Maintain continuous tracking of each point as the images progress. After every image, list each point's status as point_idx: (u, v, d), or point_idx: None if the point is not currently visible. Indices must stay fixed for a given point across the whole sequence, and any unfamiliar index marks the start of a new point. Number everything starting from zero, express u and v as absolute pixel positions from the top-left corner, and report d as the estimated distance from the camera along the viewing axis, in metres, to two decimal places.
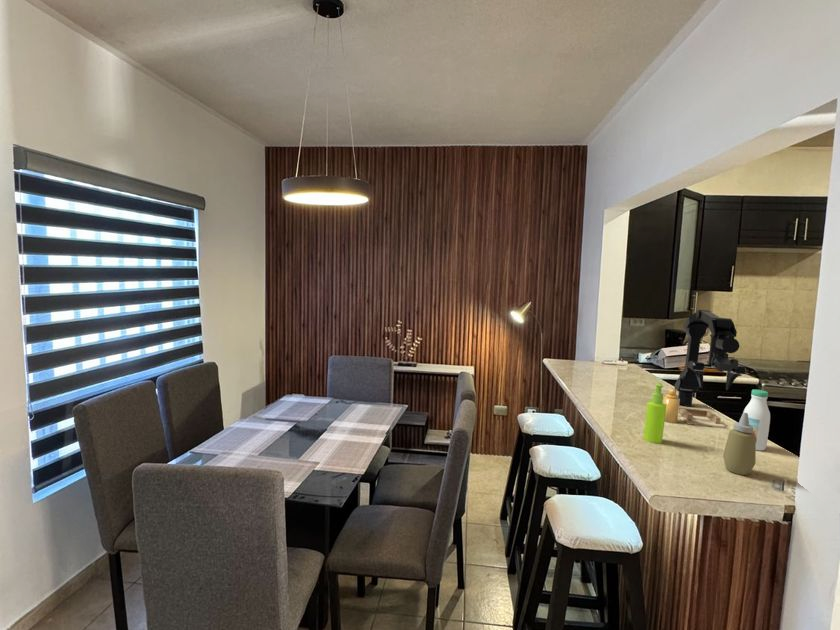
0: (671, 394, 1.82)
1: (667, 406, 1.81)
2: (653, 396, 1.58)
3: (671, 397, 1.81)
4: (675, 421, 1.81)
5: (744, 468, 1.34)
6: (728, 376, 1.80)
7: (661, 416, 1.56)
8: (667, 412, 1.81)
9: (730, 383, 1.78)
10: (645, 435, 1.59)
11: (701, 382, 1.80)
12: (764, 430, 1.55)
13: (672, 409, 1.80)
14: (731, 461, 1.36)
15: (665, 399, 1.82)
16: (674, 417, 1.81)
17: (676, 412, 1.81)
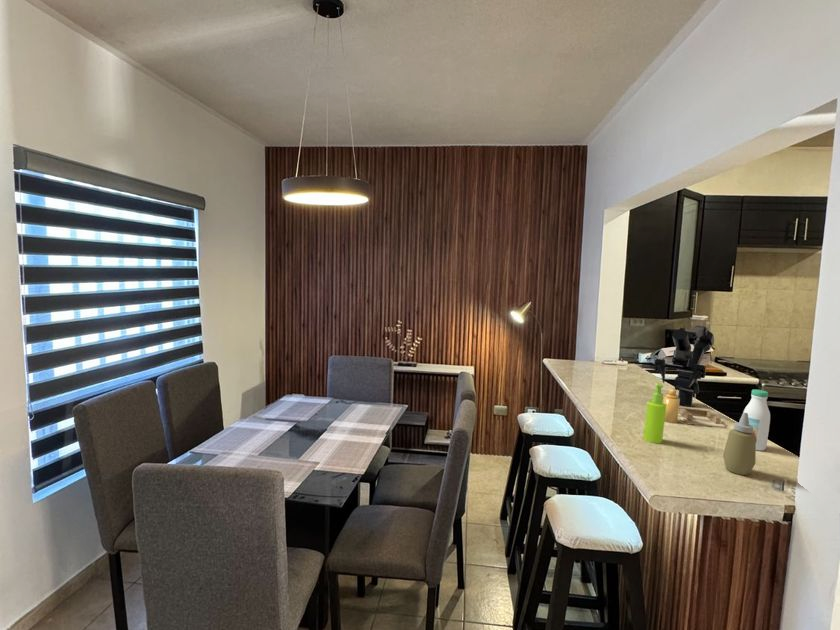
0: (671, 394, 1.82)
1: (667, 406, 1.81)
2: (653, 396, 1.58)
3: (671, 397, 1.81)
4: (675, 421, 1.81)
5: (744, 468, 1.34)
6: None
7: (661, 416, 1.56)
8: (667, 412, 1.81)
9: (691, 379, 1.87)
10: (645, 435, 1.59)
11: (663, 376, 1.92)
12: (764, 430, 1.55)
13: (672, 409, 1.80)
14: (731, 461, 1.36)
15: (665, 399, 1.82)
16: (674, 417, 1.81)
17: (676, 412, 1.81)
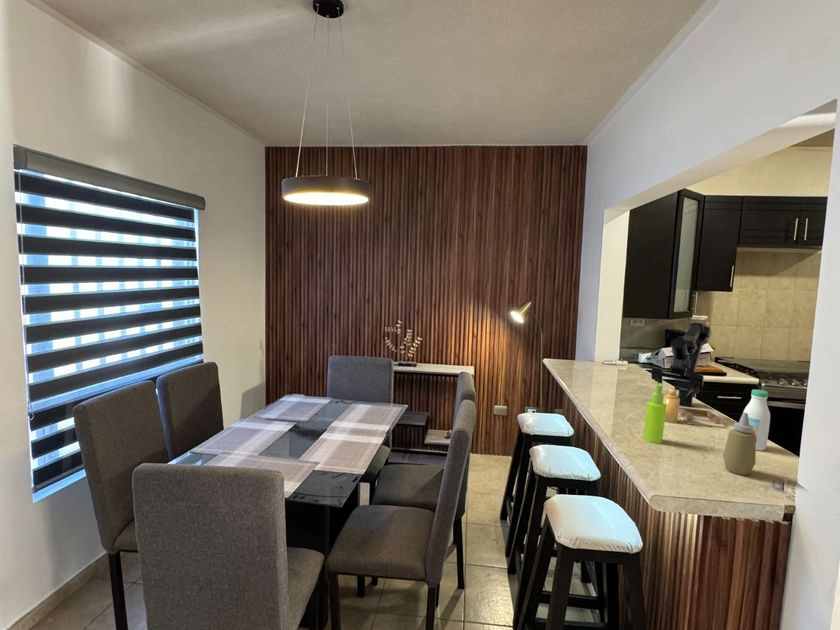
0: (671, 394, 1.82)
1: (667, 406, 1.81)
2: (653, 396, 1.58)
3: (671, 397, 1.81)
4: (675, 421, 1.81)
5: (744, 468, 1.34)
6: None
7: (661, 416, 1.56)
8: (667, 412, 1.81)
9: (688, 388, 1.83)
10: (645, 435, 1.59)
11: None
12: (764, 430, 1.55)
13: (672, 409, 1.80)
14: (731, 461, 1.36)
15: (665, 399, 1.82)
16: (674, 417, 1.81)
17: (676, 412, 1.81)
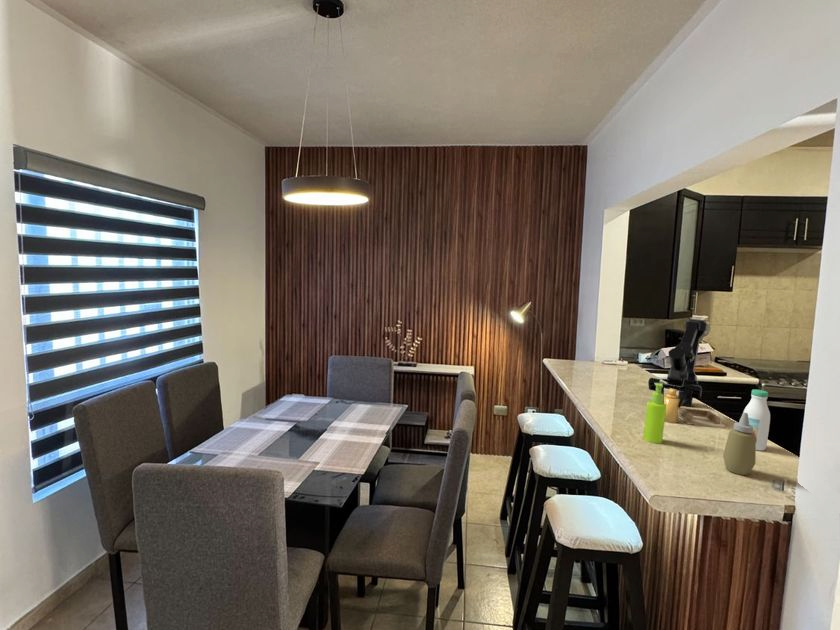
0: (671, 394, 1.82)
1: (667, 406, 1.81)
2: (653, 396, 1.58)
3: (671, 397, 1.81)
4: (675, 421, 1.81)
5: (744, 468, 1.34)
6: None
7: (661, 416, 1.56)
8: (667, 412, 1.81)
9: (681, 399, 1.81)
10: (645, 435, 1.59)
11: None
12: (764, 430, 1.55)
13: (672, 409, 1.80)
14: (731, 461, 1.36)
15: (665, 399, 1.82)
16: (674, 417, 1.81)
17: (676, 412, 1.81)
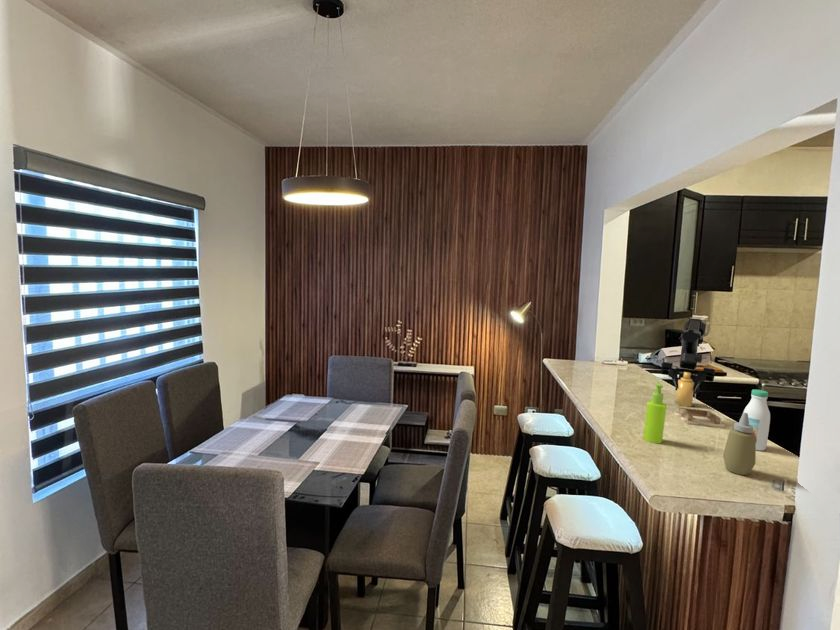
0: (686, 378, 1.81)
1: (682, 390, 1.81)
2: (653, 396, 1.58)
3: (686, 381, 1.81)
4: (690, 404, 1.81)
5: (744, 468, 1.34)
6: None
7: (661, 416, 1.56)
8: (682, 396, 1.81)
9: (696, 382, 1.81)
10: (645, 435, 1.59)
11: (676, 381, 1.84)
12: (764, 430, 1.55)
13: (688, 392, 1.80)
14: (731, 461, 1.36)
15: (680, 383, 1.82)
16: (689, 400, 1.81)
17: (691, 395, 1.80)
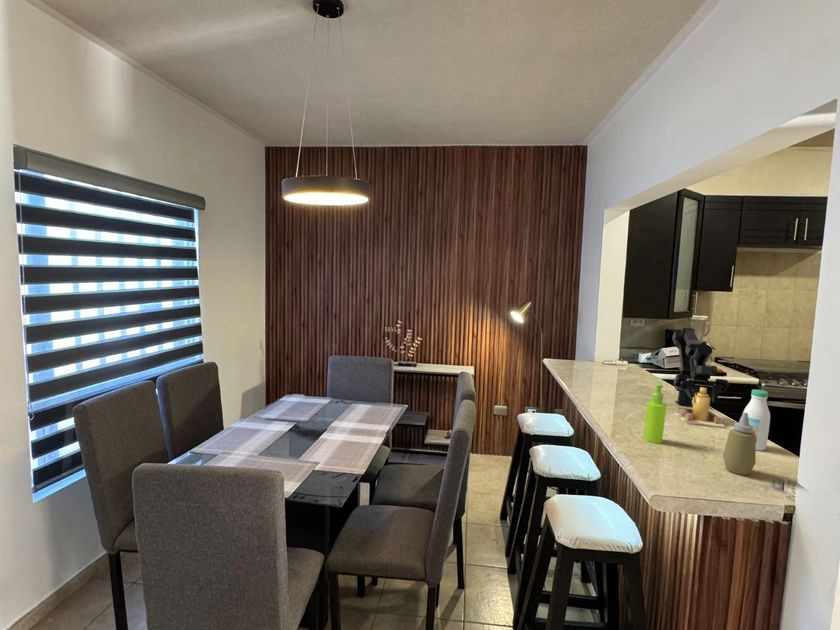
0: (703, 393, 1.84)
1: (700, 405, 1.83)
2: (653, 396, 1.58)
3: (704, 396, 1.83)
4: (707, 419, 1.84)
5: (744, 468, 1.34)
6: (712, 392, 1.87)
7: (661, 416, 1.56)
8: (700, 411, 1.84)
9: (714, 394, 1.84)
10: (645, 435, 1.59)
11: (690, 393, 1.86)
12: (764, 430, 1.55)
13: (705, 408, 1.83)
14: (731, 461, 1.36)
15: (698, 398, 1.84)
16: (706, 415, 1.84)
17: (708, 410, 1.84)
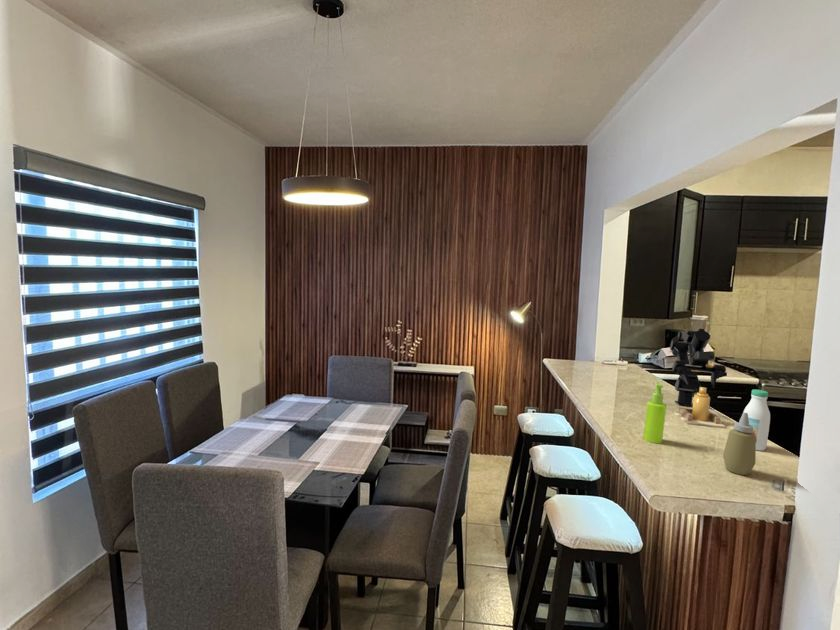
0: (702, 393, 1.84)
1: (700, 405, 1.84)
2: (653, 396, 1.58)
3: (703, 396, 1.84)
4: (707, 419, 1.84)
5: (744, 468, 1.34)
6: (712, 377, 1.91)
7: (661, 416, 1.56)
8: (700, 411, 1.84)
9: (714, 380, 1.88)
10: (645, 435, 1.59)
11: (686, 378, 1.91)
12: (764, 430, 1.55)
13: (705, 407, 1.83)
14: (731, 461, 1.36)
15: (697, 398, 1.84)
16: (706, 415, 1.84)
17: (708, 410, 1.84)
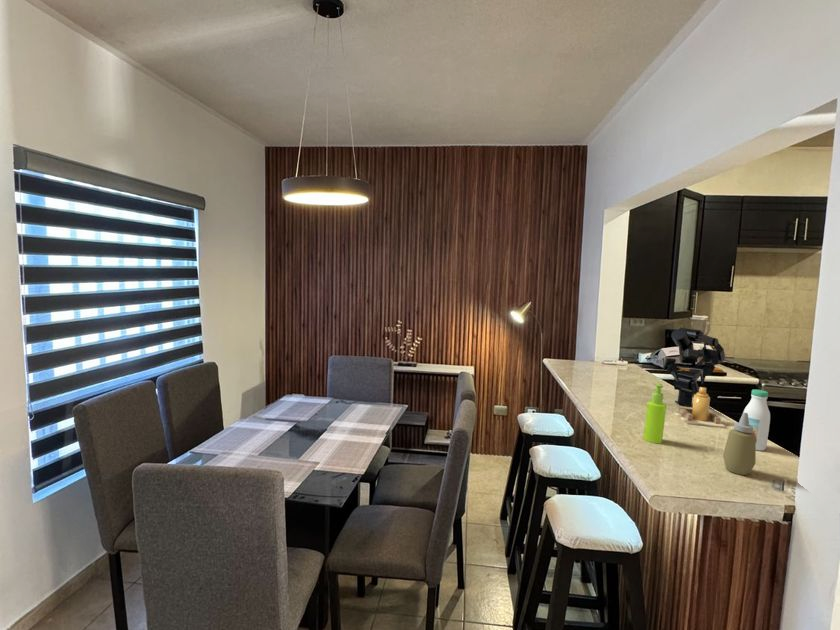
0: (702, 393, 1.84)
1: (700, 405, 1.83)
2: (653, 396, 1.58)
3: (703, 396, 1.83)
4: (707, 419, 1.84)
5: (744, 468, 1.34)
6: (701, 374, 1.95)
7: (661, 416, 1.56)
8: (700, 411, 1.84)
9: (703, 377, 1.92)
10: (645, 435, 1.59)
11: (676, 375, 1.95)
12: (764, 430, 1.55)
13: (705, 408, 1.83)
14: (731, 461, 1.36)
15: (697, 398, 1.84)
16: (706, 415, 1.84)
17: (708, 410, 1.84)
